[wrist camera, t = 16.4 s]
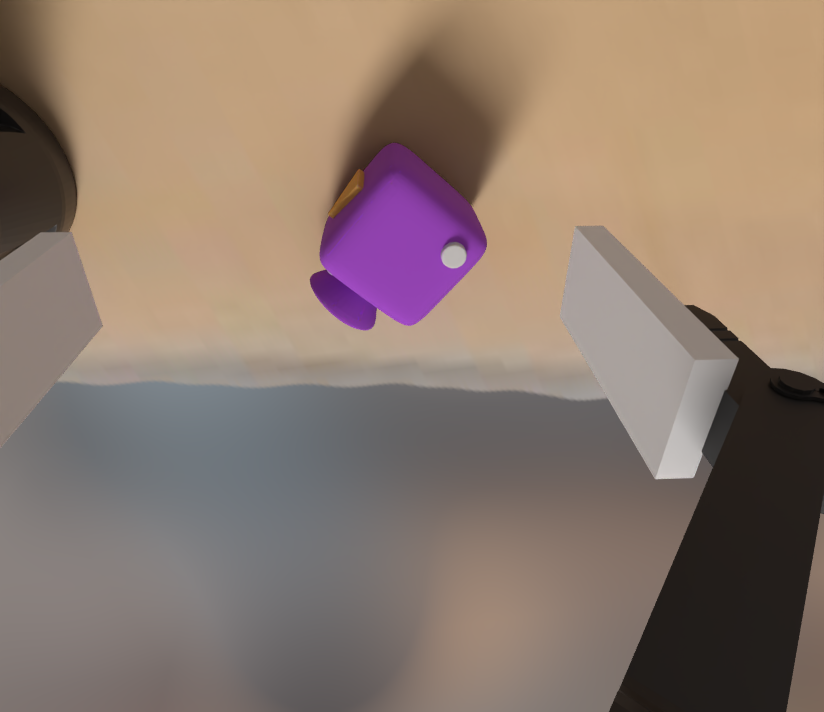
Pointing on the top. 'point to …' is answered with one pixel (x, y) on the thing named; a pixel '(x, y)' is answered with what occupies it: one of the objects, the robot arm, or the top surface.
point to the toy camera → (395, 242)
